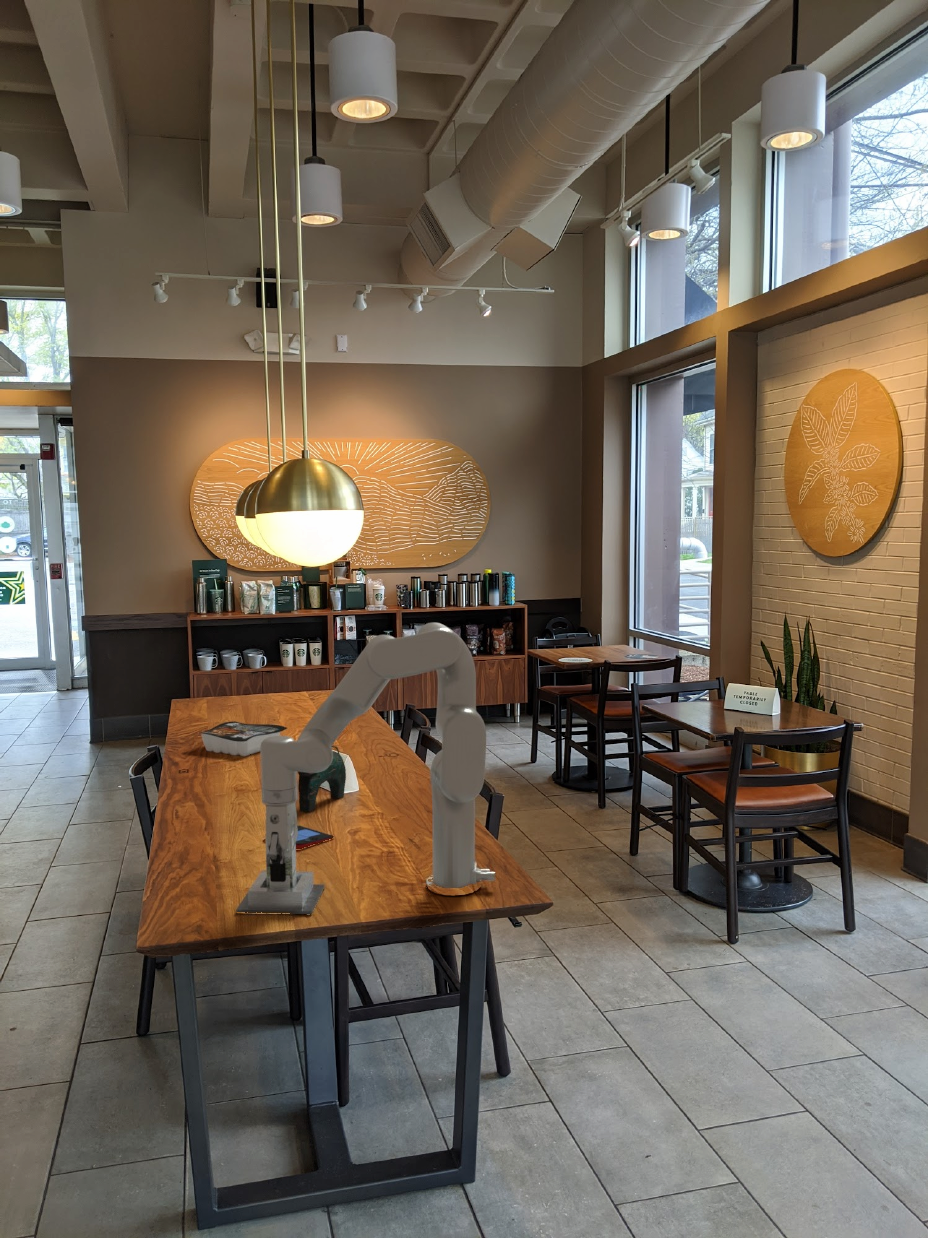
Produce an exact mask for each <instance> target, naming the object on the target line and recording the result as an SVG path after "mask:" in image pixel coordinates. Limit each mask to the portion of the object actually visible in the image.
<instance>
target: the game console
mask: <svg viewBox="0 0 928 1238" xmlns="http://www.w3.org/2000/svg"><path fill="white" fill-rule="evenodd" d="M297 827H298V837H297V839H296V849H302V848H304V847H308V846H310V845H313V844H318V843H320V842H323V841H325V840H329V839H332V838H333V837H334V838H335V836H334V835H332V834H328V833H325V832H322V831H319V830H316V829H312V828H309V827H305V826H302V825H297ZM318 845H319V844H318Z"/></svg>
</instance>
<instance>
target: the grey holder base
mask: <svg viewBox="0 0 928 1238" xmlns="http://www.w3.org/2000/svg"><path fill="white" fill-rule="evenodd" d="M296 879H297V885H296V887H295V888H267V873H266V870H261V871H260V873H259V874H258V875H257V877H256V878H255V880H254V882H252V883H253V884H252V885H251V886H250V887H249V889H248V890H247V893H246V895H244V898H243V899H242V900H241V901H240V903H239V905H238V906H237V908H236V909H235V913H236V912H245V913H247V912H248V913H256V912H257V913H261V912H262V913H281V914H282V913H290V914H312V912H313V910H314V908H315V909H316V907H315V905H316V904H317V905H318V903H319V901H320V899H319V897H320V896H321V897H322V895H323V893H322V891H323V889H324V890H325V884H317V883H316V884H314V871H307V870H306V871H305V870H304V871H303V870H300V871H299V870H296ZM323 892H324V891H323ZM321 894H322V895H321ZM321 897H320V898H321ZM318 900H319V901H318ZM317 902H318V903H317ZM317 905H316V906H317ZM314 911H315V910H314ZM313 913H314V912H313ZM312 915H313V914H312Z"/></svg>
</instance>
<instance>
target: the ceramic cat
mask: <svg viewBox="0 0 928 1238" xmlns="http://www.w3.org/2000/svg"><path fill="white" fill-rule="evenodd" d="M331 747H332V748H335V749H336V751H335V750H332V751H333V760H332V763H331V765H330V766H329V767H328V768H327V769H326V770H324V771H322V772H318V773H307V772H297V775H298V784H297V791H298V801H299V802H298V803H299V804H298V805H299V806H298V807H299V811H300V812H302V811H303V813H307V814H309V813H311V812H314V811H315V809H316V802H317V797H318V794H319V790H320V787H321V785H323V784H324V783H325V782H327V783H328V786H329V791H330V798H331V799H333V800H334V799H337V800H339V799H340V798H341V799H342V798H344V796H345V788H346V780H347V772H346V771H347V769H346V765H345V764H346V763H345V762H344V758H343V757H342V756H341V754H340V749H339V748H338V747H337V746H336V745H332V746H331Z"/></svg>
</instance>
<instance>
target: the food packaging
mask: <svg viewBox="0 0 928 1238" xmlns="http://www.w3.org/2000/svg"><path fill="white" fill-rule="evenodd" d="M287 729H288V727H286V726H284V725H279V724H269V723H267V724H265V723H264V724H263V723H262V724H258V723H257V724H253V723H244V722H238V721H235V720H234V721H226V722H223V723H220V724H218V725H216V726H214V727H212V728H211V729H207V730H205V731H201V732H200V734H201V735H200V736H201V739H202V743H203V745H204V747H205V749H206V751H207V752H214V753H216V754H217V753H218V754H219V753H223V754H226V755H227V754H228V755H231V756H237V755H239V756H241V757H247V756H250V754H251V755H253V754H256V753H259V752H260V753H261V751H260V748H261V742H262V741H263V740H264V739H266V738H268V737H273V736H281V732H283V731H286V730H287Z"/></svg>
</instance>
